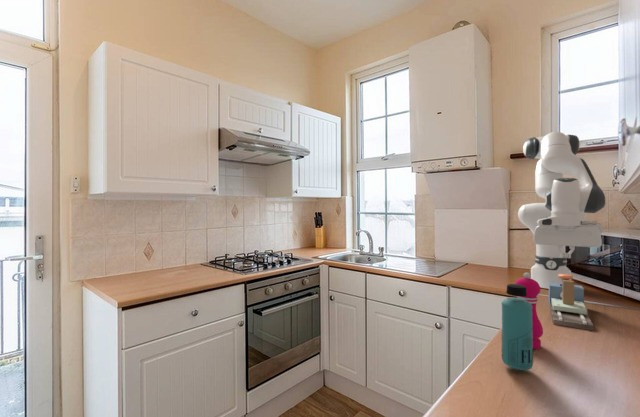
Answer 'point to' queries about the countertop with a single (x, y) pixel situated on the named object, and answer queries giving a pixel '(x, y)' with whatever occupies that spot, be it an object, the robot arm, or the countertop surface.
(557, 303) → the carriage
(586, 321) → the track
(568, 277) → the orange rounded knob
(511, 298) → the beverage bottle
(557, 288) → the blue side pieces
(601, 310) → the countertop surface
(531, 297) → the pepper mill
